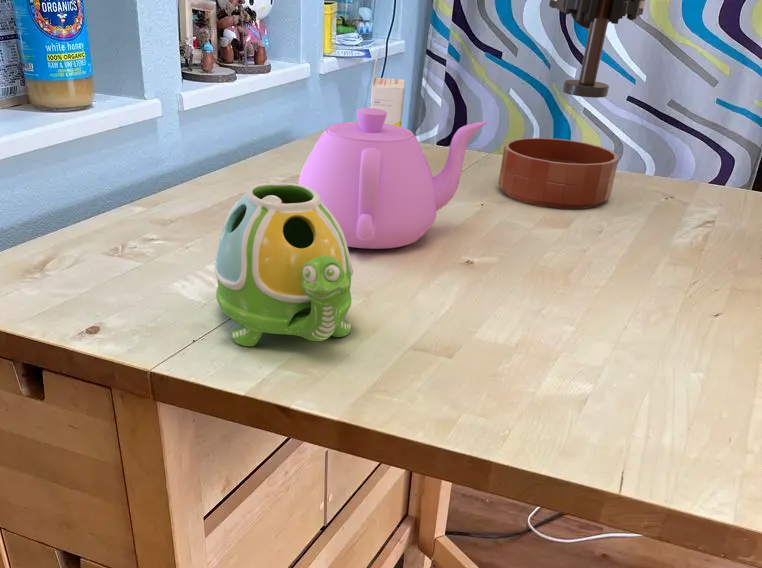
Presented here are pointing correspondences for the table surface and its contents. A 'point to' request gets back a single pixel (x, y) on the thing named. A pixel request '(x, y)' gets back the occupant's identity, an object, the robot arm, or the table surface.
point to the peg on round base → (592, 57)
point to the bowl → (557, 172)
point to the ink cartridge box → (388, 97)
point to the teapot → (381, 179)
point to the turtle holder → (283, 266)
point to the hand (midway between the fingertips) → (605, 9)
